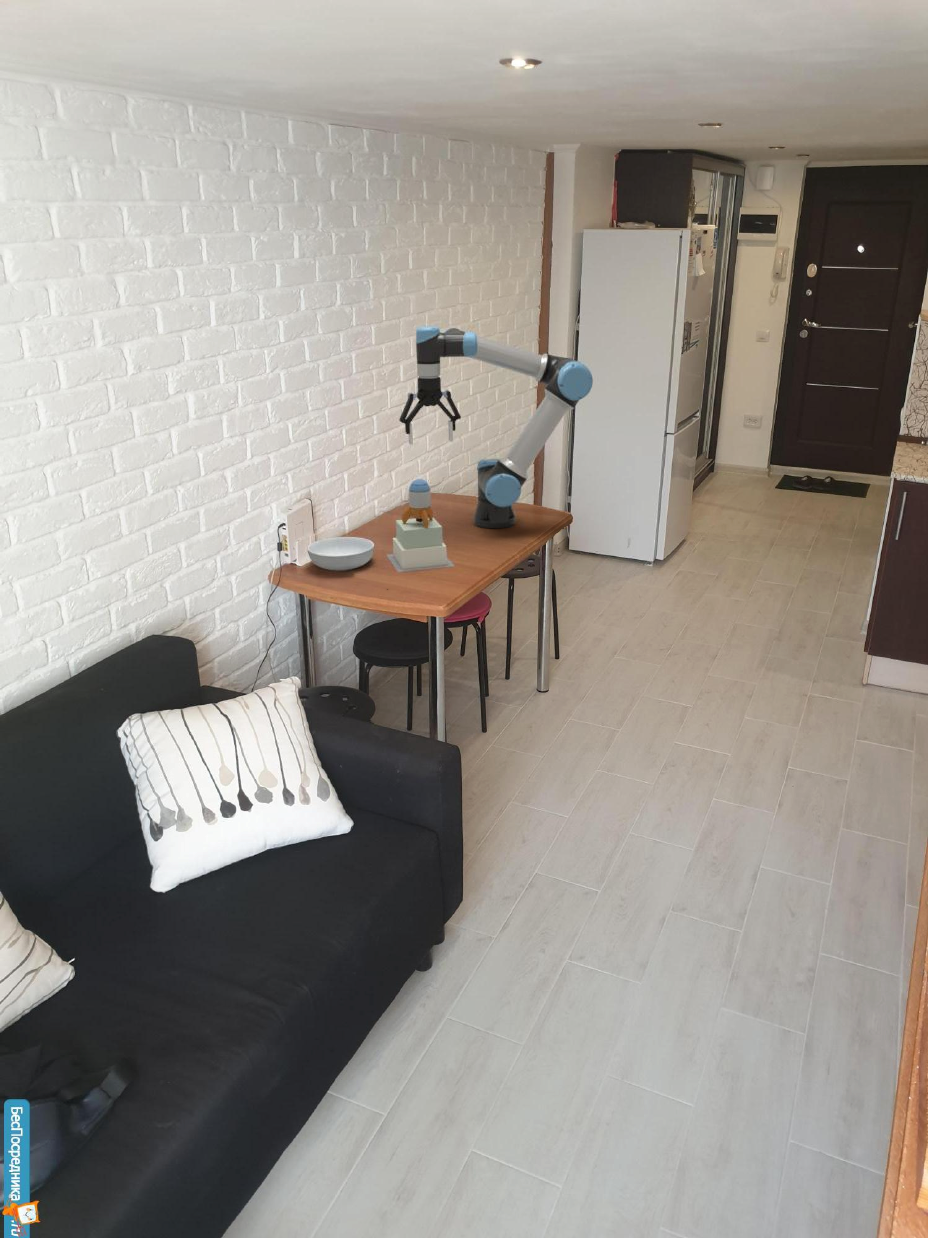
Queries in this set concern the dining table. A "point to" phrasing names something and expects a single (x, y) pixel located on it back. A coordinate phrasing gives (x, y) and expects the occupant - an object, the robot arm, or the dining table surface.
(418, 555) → the lower brick
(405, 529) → the upper brick
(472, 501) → the dining table surface
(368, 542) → the serving bowl
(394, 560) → the base plate
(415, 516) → the toy rocket
